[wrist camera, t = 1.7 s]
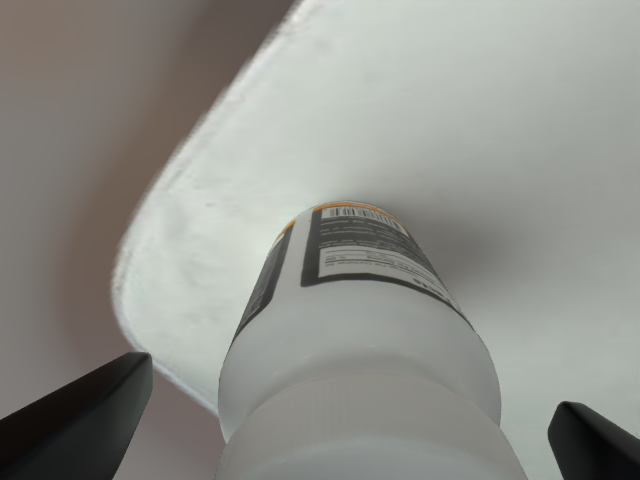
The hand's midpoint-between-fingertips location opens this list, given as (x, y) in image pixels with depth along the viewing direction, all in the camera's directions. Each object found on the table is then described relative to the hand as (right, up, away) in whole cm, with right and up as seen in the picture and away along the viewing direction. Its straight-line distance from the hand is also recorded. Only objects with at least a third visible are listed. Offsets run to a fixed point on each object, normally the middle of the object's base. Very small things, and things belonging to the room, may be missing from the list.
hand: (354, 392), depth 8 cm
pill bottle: (0, +2, +6) cm, 7 cm away
